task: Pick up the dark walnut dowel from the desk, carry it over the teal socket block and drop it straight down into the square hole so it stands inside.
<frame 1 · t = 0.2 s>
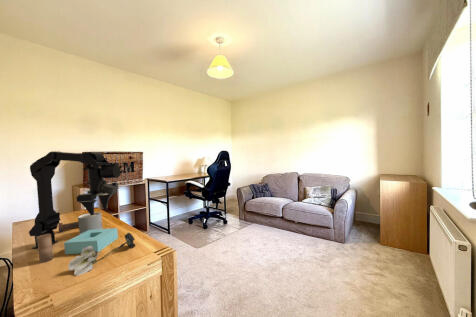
hand: (99, 212, 95), 14 cm above the table, tool pointing down, fingers open, 9 cm apart
artificial flower: (106, 260, 78), on the table
socket block: (93, 245, 92), on the table
walnut dowel: (46, 260, 81), on the table
bolt: (76, 228, 118), on the table
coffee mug: (90, 233, 109), on the table
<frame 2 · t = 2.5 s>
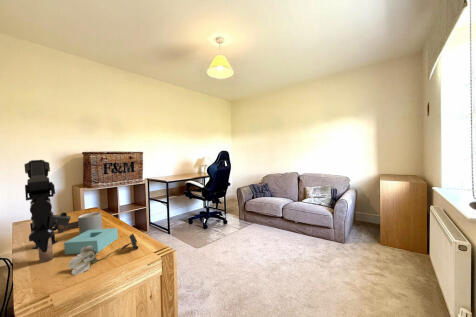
hand: (45, 250, 81), 4 cm above the table, tool pointing down, fingers closed on walnut dowel, 4 cm apart
walnut dowel: (46, 260, 81), on the table, touching gripper
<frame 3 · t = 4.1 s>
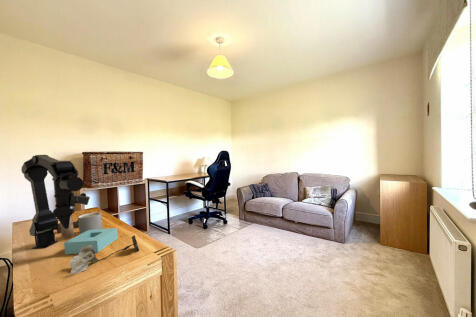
hand: (67, 227, 85), 11 cm above the table, tool pointing down, fingers closed on walnut dowel, 4 cm apart
walnut dowel: (68, 236, 86), point 7 cm above the table, touching gripper
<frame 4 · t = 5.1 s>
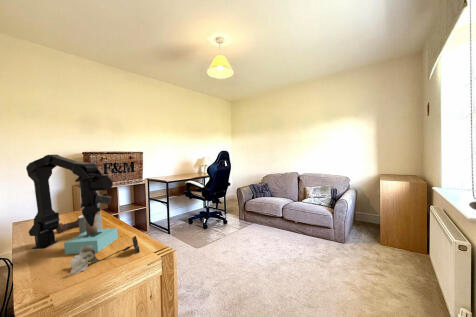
hand: (91, 225, 92), 9 cm above the table, tool pointing down, fingers closed on walnut dowel, 4 cm apart
walnut dowel: (92, 233, 92), point 5 cm above the table, touching gripper
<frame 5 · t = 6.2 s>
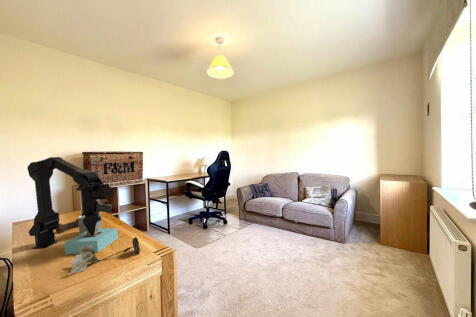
hand: (92, 233, 92), 5 cm above the table, tool pointing down, fingers closed on walnut dowel, 4 cm apart
walnut dowel: (93, 242, 92), point 1 cm above the table, touching gripper
when the fingers open (5 cm above the table, at t = 6.2 s): walnut dowel drops 1 cm, resting in socket block.
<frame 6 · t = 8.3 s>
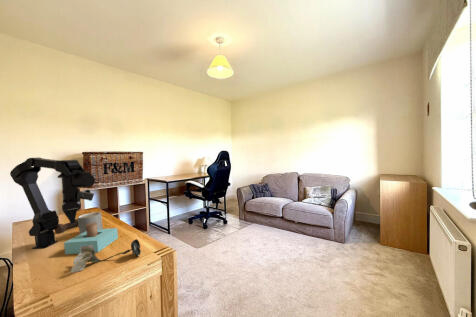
hand: (72, 220, 93), 12 cm above the table, tool pointing down, fingers open, 9 cm apart
walnut dowel: (93, 245, 92), resting in socket block
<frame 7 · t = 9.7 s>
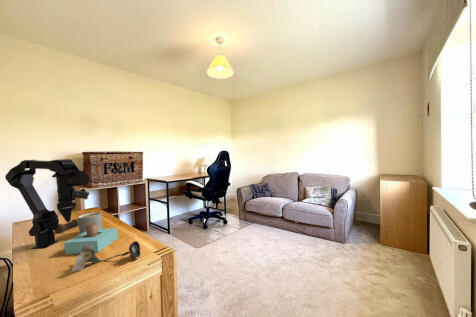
hand: (68, 219, 94), 12 cm above the table, tool pointing down, fingers open, 9 cm apart
at the end: walnut dowel 0.1 cm from the socket block (horizontally); walnut dowel resting in socket block; walnut dowel tilted 0° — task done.
